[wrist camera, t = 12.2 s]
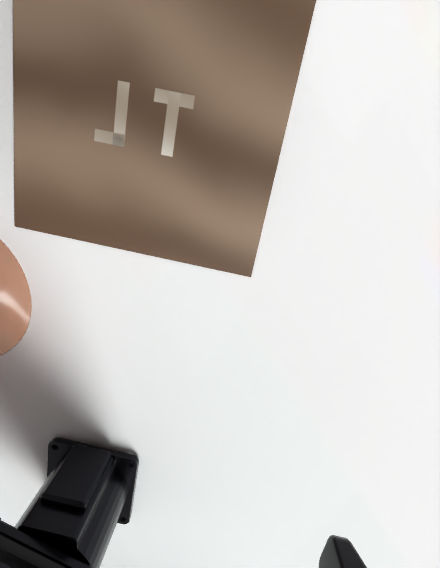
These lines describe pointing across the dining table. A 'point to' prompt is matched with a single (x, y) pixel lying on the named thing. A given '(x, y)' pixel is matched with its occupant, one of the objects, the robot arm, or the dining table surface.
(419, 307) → the dining table surface
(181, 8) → the board
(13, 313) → the coaster
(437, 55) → the dining table surface
